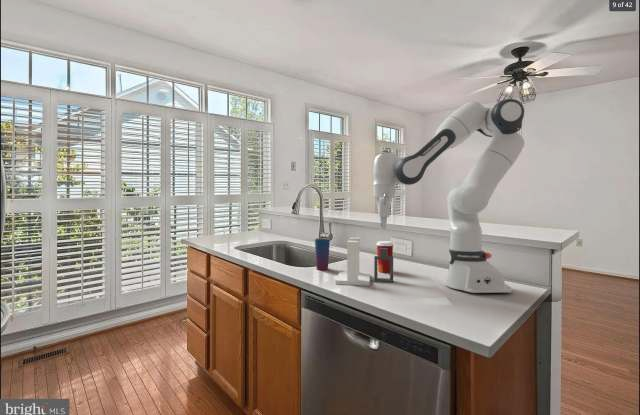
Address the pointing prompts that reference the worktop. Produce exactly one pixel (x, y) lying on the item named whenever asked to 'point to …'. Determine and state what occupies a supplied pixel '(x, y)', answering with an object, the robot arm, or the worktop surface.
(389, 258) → the loop
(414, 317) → the worktop surface
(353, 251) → the white post stand
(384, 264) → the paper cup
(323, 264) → the cup
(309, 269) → the worktop surface
